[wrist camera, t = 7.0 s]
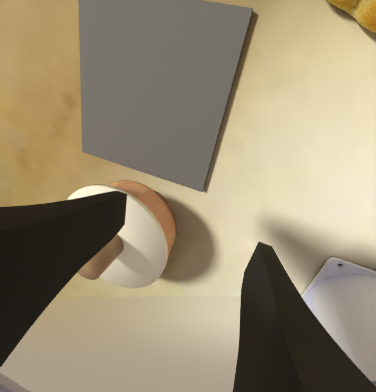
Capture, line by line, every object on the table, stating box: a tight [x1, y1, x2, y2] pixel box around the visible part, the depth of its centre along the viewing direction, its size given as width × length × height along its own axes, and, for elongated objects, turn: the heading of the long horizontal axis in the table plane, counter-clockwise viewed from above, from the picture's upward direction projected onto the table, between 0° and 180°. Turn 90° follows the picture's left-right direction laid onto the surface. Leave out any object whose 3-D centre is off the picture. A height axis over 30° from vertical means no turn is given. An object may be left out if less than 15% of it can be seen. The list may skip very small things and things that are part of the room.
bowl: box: [110, 181, 176, 256], centre depth 23 cm, size 11×11×4 cm
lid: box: [67, 184, 168, 288], centre depth 19 cm, size 12×12×4 cm
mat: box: [79, 0, 253, 192], centre depth 18 cm, size 14×14×1 cm
